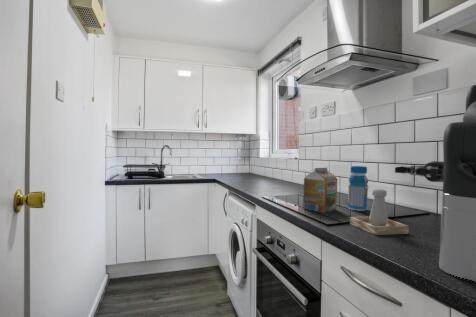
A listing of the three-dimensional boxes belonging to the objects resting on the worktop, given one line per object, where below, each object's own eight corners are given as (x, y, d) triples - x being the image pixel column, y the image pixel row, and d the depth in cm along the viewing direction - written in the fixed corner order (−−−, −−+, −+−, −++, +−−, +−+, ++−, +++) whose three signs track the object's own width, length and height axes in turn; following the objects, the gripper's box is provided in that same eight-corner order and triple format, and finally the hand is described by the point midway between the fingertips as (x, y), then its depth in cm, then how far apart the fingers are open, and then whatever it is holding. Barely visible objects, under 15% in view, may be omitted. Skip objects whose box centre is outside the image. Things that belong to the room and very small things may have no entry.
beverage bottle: (352, 211, 114) (354, 166, 114) (344, 207, 123) (345, 165, 122) (371, 211, 115) (372, 167, 114) (361, 207, 123) (363, 166, 122)
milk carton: (315, 205, 124) (317, 166, 124) (336, 209, 116) (337, 168, 116) (303, 208, 117) (304, 167, 117) (324, 213, 109) (325, 168, 109)
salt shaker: (390, 229, 85) (391, 191, 85) (371, 228, 86) (373, 190, 86) (384, 225, 91) (385, 188, 90) (366, 223, 92) (368, 187, 92)
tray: (408, 233, 84) (408, 225, 84) (375, 235, 81) (375, 227, 81) (379, 222, 96) (379, 216, 96) (349, 223, 93) (350, 217, 93)
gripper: (424, 161, 101) (390, 159, 97) (463, 162, 87) (424, 160, 83) (423, 180, 101) (389, 179, 97) (462, 184, 87) (423, 183, 83)
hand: (405, 170), depth 90 cm, fingers open, 8 cm apart
